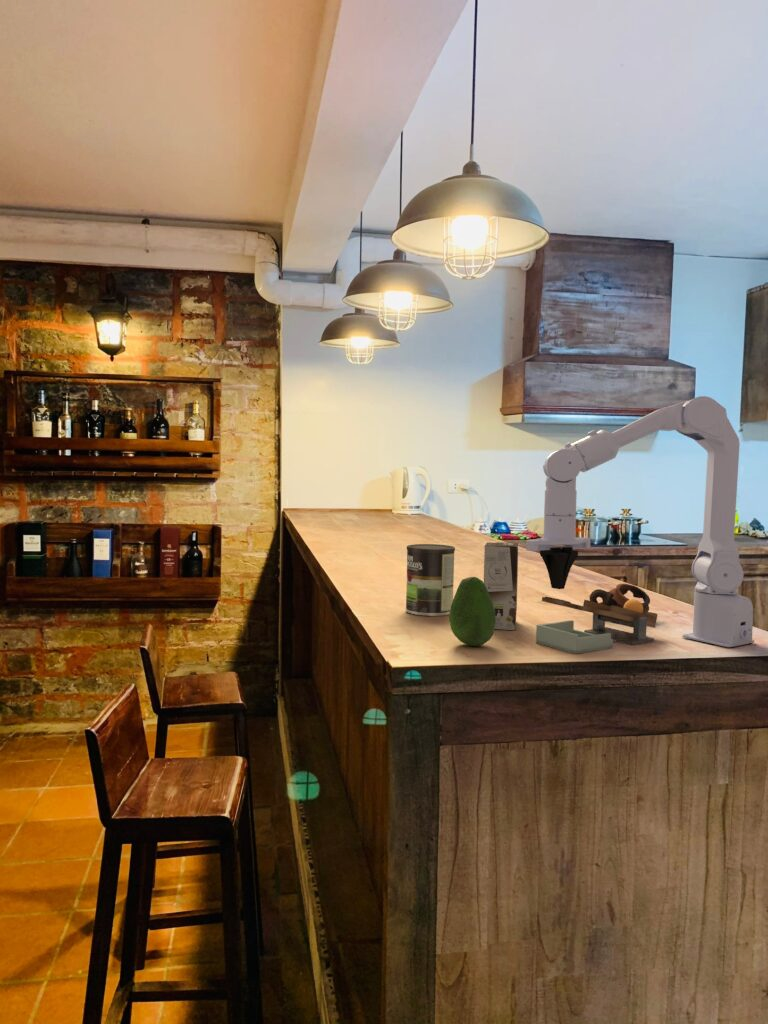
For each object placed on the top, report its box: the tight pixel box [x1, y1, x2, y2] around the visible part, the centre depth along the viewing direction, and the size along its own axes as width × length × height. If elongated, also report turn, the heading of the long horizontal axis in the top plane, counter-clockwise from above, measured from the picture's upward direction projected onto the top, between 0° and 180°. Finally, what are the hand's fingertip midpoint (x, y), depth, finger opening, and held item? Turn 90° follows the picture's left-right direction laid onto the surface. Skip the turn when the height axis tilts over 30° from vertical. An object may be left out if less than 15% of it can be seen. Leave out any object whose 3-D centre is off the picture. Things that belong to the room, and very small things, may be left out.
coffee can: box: [405, 543, 456, 617], centre depth 160 cm, size 10×10×14 cm
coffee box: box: [483, 541, 519, 631], centre depth 147 cm, size 9×6×16 cm
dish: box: [535, 620, 614, 655], centre depth 131 cm, size 9×9×3 cm
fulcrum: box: [583, 613, 655, 646], centre depth 138 cm, size 11×6×4 cm, turn 32°
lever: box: [541, 596, 659, 629], centre depth 139 cm, size 14×16×4 cm
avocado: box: [448, 576, 496, 647], centre depth 129 cm, size 8×8×12 cm
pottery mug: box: [589, 583, 651, 612], centre depth 156 cm, size 12×10×8 cm
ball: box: [624, 598, 643, 613], centre depth 139 cm, size 4×4×4 cm
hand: (557, 588), depth 139 cm, fingers closed
